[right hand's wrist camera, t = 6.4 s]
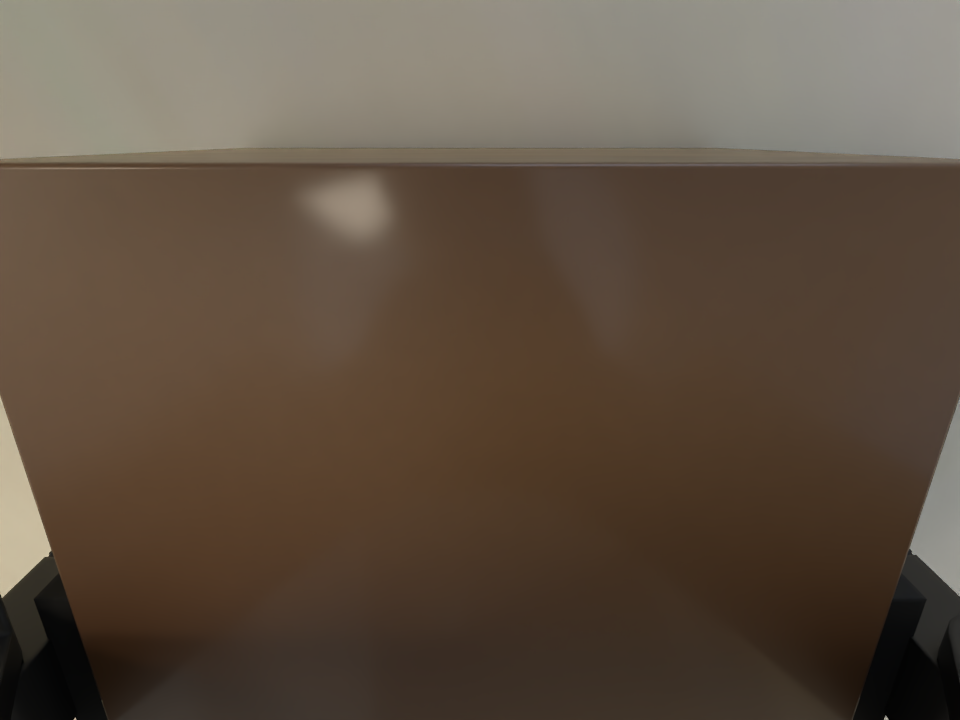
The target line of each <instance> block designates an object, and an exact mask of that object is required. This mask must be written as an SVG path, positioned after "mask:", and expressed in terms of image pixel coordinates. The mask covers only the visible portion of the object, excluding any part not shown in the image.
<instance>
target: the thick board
mask: <svg viewBox="0 0 960 720" xmlns="http://www.w3.org/2000/svg"><path fill="white" fill-rule="evenodd" d="M0 396H1V399H2V402H3V405H4V408H5V411H6V414H7V417H8V420H9V423H10V426H11V429H12V432H13V435H14V438H15V441H16V444H17V447H18V450H19V453H20V456H21V459H22V462H23V465H24V468H25V471H26V474H27V477H28V480H29V483H30V486H31V489H32V492H33V495H34V498H35V501H36V504H37V507H38V511H39V514H40V517H41V520H42V523H43V526H44V529H45V532H46V535H47V538H48V541H49V544H50V547H51V550H52V553H53V556H54V559H55V562H56V565H57V568H58V571H59V574H60V577H61V580H62V583H63V586H64V589H65V592H66V595H67V598H68V601H69V604H70V607H71V610H72V613H73V616H74V619H75V622H76V625H77V628H78V631H79V634H80V637H81V640H82V643H83V646H84V649H85V652H86V655H87V658H88V661H89V664H90V667H91V670H92V674H93V677H94V680H95V683H96V686H97V689H98V692H99V695H100V698H101V701H102V704H103V707H104V710H105V713H106V716H107V719H108V720H853V717H854V714H855V711H856V708H857V705H858V702H859V699H860V696H861V693H862V690H863V687H864V684H865V681H866V678H867V675H868V672H869V669H870V666H871V663H872V660H873V657H874V654H875V651H876V648H877V645H878V641H879V638H880V635H881V632H882V629H883V626H884V623H885V620H886V617H887V614H888V611H889V608H890V605H891V602H892V599H893V596H894V593H895V590H896V587H897V584H898V581H899V578H900V575H901V572H902V569H903V566H904V563H905V560H906V557H907V554H908V551H909V548H910V545H911V542H912V539H913V536H914V533H915V530H916V527H917V524H918V521H919V518H920V515H921V512H922V509H923V506H924V503H925V500H926V497H927V494H928V491H929V488H930V485H931V482H932V479H933V476H934V473H935V470H936V467H937V463H938V460H939V457H940V454H941V451H942V448H943V445H944V442H945V439H946V436H947V433H948V430H949V427H950V424H951V421H952V418H953V415H954V412H955V409H956V406H957V403H958V400H959V397H960V159H946V158H924V157H902V156H880V155H858V154H836V153H814V152H792V151H770V150H748V149H726V148H235V149H213V150H191V151H169V152H147V153H125V154H103V155H82V156H60V157H38V158H16V159H0Z"/></svg>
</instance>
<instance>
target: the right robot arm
mask: <svg viewBox="0 0 960 720" xmlns="http://www.w3.org/2000/svg"><path fill="white" fill-rule="evenodd" d="M885 715H886V716H887V718H888V719H889V720H960V597H959V596H958V595H957V594H956V593H955V592H954V591H953V590H952V589H951V588H950V587H949V586H948V585H947V584H946V583H945V582H944V581H943V580H942V579H941V578H940V577H939V576H937V575H936V574H935V573H934V572H933V571H932V570H931V569H930V568H929V567H928V566H927V565H926V564H925V563H924V562H923V561H922V560H921V559H920V558H919V557H918V556H917V555H912V551H911V550H910V549H909V551H908V554H907V557H906V560H905V563H904V566H903V569H902V572H901V575H900V578H899V581H898V584H897V587H896V590H895V593H894V596H893V599H892V602H891V605H890V608H889V611H888V614H887V617H886V620H885V623H884V626H883V629H882V632H881V635H880V638H879V641H878V645H877V648H876V651H875V654H874V657H873V660H872V663H871V666H870V669H869V672H868V675H867V678H866V681H865V684H864V687H863V690H862V693H861V696H860V699H859V702H858V705H857V708H856V711H855V714H854V717H853V720H884V718H885ZM75 717H76V720H108V719H107V716H106V713H105V710H104V707H103V704H102V701H101V698H100V695H99V692H98V689H97V686H96V683H95V680H94V677H93V674H92V670H91V667H90V664H89V661H88V658H87V655H86V652H85V649H84V646H83V643H82V640H81V637H80V634H79V631H78V628H77V625H76V622H75V619H74V616H73V613H72V610H71V607H70V604H69V601H68V598H67V595H66V592H65V589H64V586H63V583H62V580H61V577H60V574H59V571H58V568H57V565H56V562H55V559H54V556H53V553H52V551H51V552H50V553H49V557H45V558H43V559H42V560H41V561H40V562H39V563H38V564H37V565H36V566H35V567H34V568H33V569H32V570H31V571H30V572H29V573H28V574H27V575H26V576H25V577H24V578H23V579H22V580H21V581H20V582H19V583H18V584H16V585H15V586H14V587H13V588H12V589H11V590H10V591H9V592H8V593H7V594H6V595H5V596H4V597H3V598H2V597H1V595H0V720H74V718H75Z"/></svg>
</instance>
